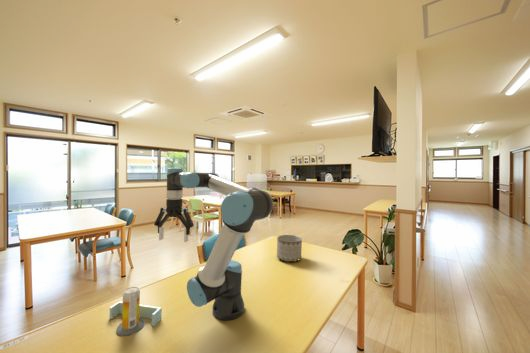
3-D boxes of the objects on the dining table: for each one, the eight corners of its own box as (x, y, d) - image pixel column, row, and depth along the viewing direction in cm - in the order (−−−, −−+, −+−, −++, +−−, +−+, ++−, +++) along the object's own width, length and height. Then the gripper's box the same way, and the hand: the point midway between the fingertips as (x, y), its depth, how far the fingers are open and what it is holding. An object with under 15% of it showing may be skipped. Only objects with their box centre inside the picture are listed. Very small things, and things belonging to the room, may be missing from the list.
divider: (161, 318, 97) (161, 307, 97) (153, 326, 92) (154, 314, 92) (118, 311, 101) (119, 301, 101) (109, 318, 96) (109, 307, 96)
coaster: (149, 321, 95) (149, 319, 95) (131, 337, 85) (131, 336, 85) (129, 317, 97) (129, 316, 97) (109, 333, 87) (109, 332, 87)
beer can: (135, 318, 95) (136, 284, 95) (141, 325, 92) (142, 289, 91) (119, 326, 91) (120, 290, 91) (125, 333, 87) (126, 295, 87)
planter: (303, 264, 162) (303, 242, 162) (277, 263, 162) (277, 241, 162) (299, 254, 181) (299, 235, 181) (276, 254, 182) (276, 234, 182)
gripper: (201, 198, 112) (200, 239, 112) (156, 197, 115) (155, 236, 115) (194, 200, 104) (193, 244, 104) (147, 198, 108) (146, 240, 108)
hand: (173, 240), depth 110 cm, fingers open, 13 cm apart
